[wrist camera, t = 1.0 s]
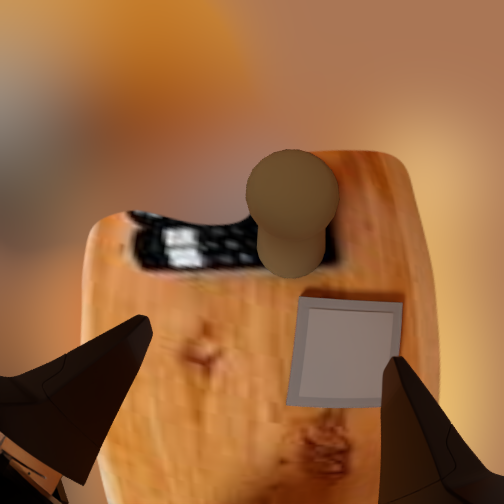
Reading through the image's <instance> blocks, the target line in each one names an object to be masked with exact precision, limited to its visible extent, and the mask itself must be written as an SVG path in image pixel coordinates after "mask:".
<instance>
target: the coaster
mask: <svg viewBox="0 0 504 504" xmlns="http://www.w3.org/2000/svg"><path fill="white" fill-rule="evenodd" d="M402 306H403V303H400V302H377V301H357V300H341V299H326V298H312V297H300V296H299V299H298V310H297V320H296V329H295V338H294V347H293V355H292V363H291V371H290V378H289V385H288V392H287V399H286V405H289V406H302V407H322V408H369V407H381V397H382V375H383V371H384V369H385V367H386V365H387V364H388V362H389V360H390V358H391V357H392V356H399V348H400V337H401V324H402Z"/></svg>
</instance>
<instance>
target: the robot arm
mask: <svg viewBox="0 0 504 504" xmlns="http://www.w3.org/2000/svg"><path fill="white" fill-rule="evenodd" d="M152 336H153V331H152V327H151V324H150V320H149V318H148V317H147V316H144V315H136V316H134V317H132V318H131V319H129V320H127V321H125V322H123V323H121V324H120V325H118V326H116V327H114V328H112V329H110V330H109V331H107V332H105V333H103V334H101V335H99V336H97V337H96V338H94V339H92V340H90V341H88V342H86V343H85V344H83V345H81V346H79V347H77V348H75V349H74V350H72V351H70V352H68V353H67V354H64V355H62V356H61V357H59V358H57V359H55V360H53V361H51V362H49V363H46V364H44V365H42V366H40V367H37V368H35V369H33V370H30V371H28V372H25V373H23V374H21V375H18V376H14V377H3V376H0V504H68V503H69V502H68V499H67V496H66V493H65V490H64V487H63V484H62V481H61V478H62V476H65V477H67V478H69V479H71V480H73V481H74V482H76V483H78V484H80V485H82V486H84V484H85V483H86V480H87V478H88V476H89V473H90V471H91V469H92V466H93V464H94V462H95V460H96V458H97V455H98V453H99V451H100V448H101V446H102V444H103V442H104V440H105V438H106V436H107V434H108V431H109V429H110V427H111V425H112V423H113V421H114V419H115V417H116V415H117V413H118V411H119V409H120V407H121V405H122V403H123V401H124V399H125V397H126V395H127V393H128V391H129V389H130V387H131V385H132V383H133V381H134V379H135V377H136V375H137V373H138V371H139V369H140V367H141V364H142V362H143V359H144V357H145V354H146V352H147V349H148V346H149V344H150V341H151V339H152ZM378 504H504V476H501V475H498V474H495V473H492V472H490V471H489V470H488V469H487V468H486V467H485V466H484V465H483V464H482V463H481V461H480V460H479V459H478V457H477V456H476V455H475V454H474V453H473V451H472V450H471V449H470V448H469V446H468V445H467V444H466V443H465V441H464V440H463V439H462V437H461V436H460V435H459V433H458V432H457V430H456V429H455V427H454V426H453V424H451V422H450V420H449V419H448V417H447V416H446V414H445V413H444V411H443V410H442V409H441V407H440V406H439V404H438V403H437V402H436V400H435V399H434V397H433V396H432V395H431V393H430V392H429V391H428V389H427V388H426V386H425V385H424V384H423V382H422V381H421V380H420V378H419V377H418V376H417V374H416V373H415V372H414V370H413V369H412V368H411V366H410V365H409V364H408V363H407V361H406V360H405V359H404V358H403V357H402V356H392V357H391V358H390V360H389V362H388V364H387V365H386V367H385V369H384V371H383V375H382V397H381V469H380V487H379V499H378Z"/></svg>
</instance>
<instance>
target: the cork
mask: <svg viewBox="0 0 504 504" xmlns="http://www.w3.org/2000/svg"><path fill="white" fill-rule="evenodd" d="M246 201H247V205H248V208H249V212H250V214H251V216H252V218H253V219H254V220H255V222H256V223H257V225H258V240H257V251H258V254H259V258H260V260H261V261H262V263H263V264H264V266H265V267H266V268H267V269H268V270H269V271H271V272H272V273H273V274H275V275H278V276H281V277H283V278H299V277H302V276H306V275H308V274H309V273H311V272H312V271H313V270H315V269H316V268H317V266H318V265H319V264H320V262H321V261H322V259H323V256H324V253H325V228H326V227H327V225H328V224H329V223H330V221H331V220H332V219H333V217H334V215H335V213H336V209H337V206H338V202H339V191H338V183H337V180H336V178H335V176H334V174H333V172H332V170H331V169H330V168H329V167H328V166H327V165H326V164H325V162H324V161H323V160H321V159H320V158H318V157H316V156H315V155H313V154H311V153H309V152H305V151H302V150H287V149H286V150H282V151H278V152H274V153H272V154H271V155H269V156H267V157H265V158H264V159H262V160H261V161H260V162H259V163H258V164H257V165H256V166H255V167H254V169H253V170H252V172H251V175H250V176H249V178H248V181H247V187H246Z"/></svg>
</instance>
